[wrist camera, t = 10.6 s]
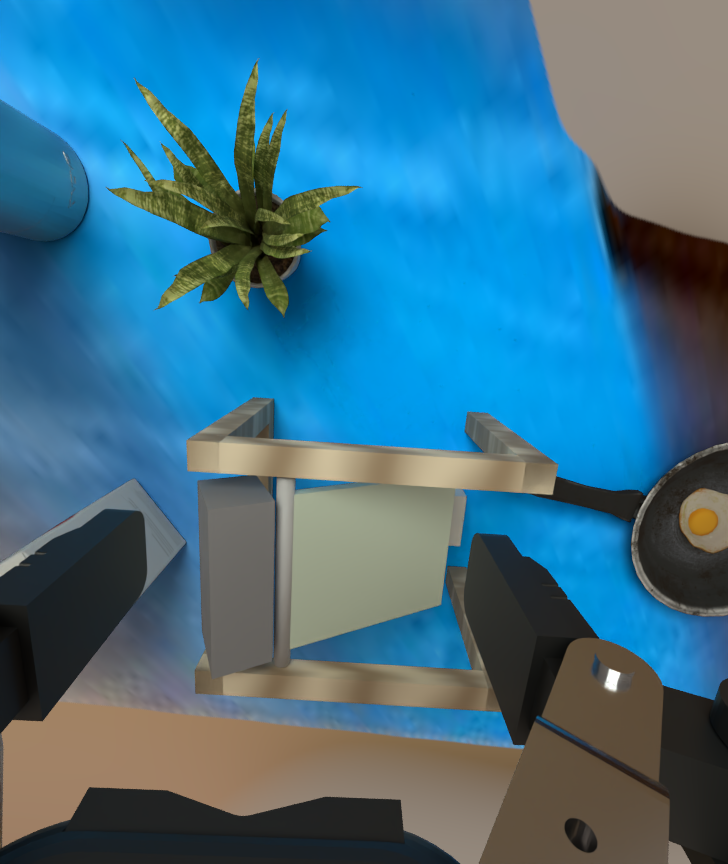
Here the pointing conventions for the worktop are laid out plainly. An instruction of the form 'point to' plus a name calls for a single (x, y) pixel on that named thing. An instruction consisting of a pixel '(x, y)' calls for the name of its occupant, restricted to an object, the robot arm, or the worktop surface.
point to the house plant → (233, 209)
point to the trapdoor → (313, 563)
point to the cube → (457, 518)
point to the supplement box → (129, 496)
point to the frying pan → (674, 530)
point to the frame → (492, 470)
